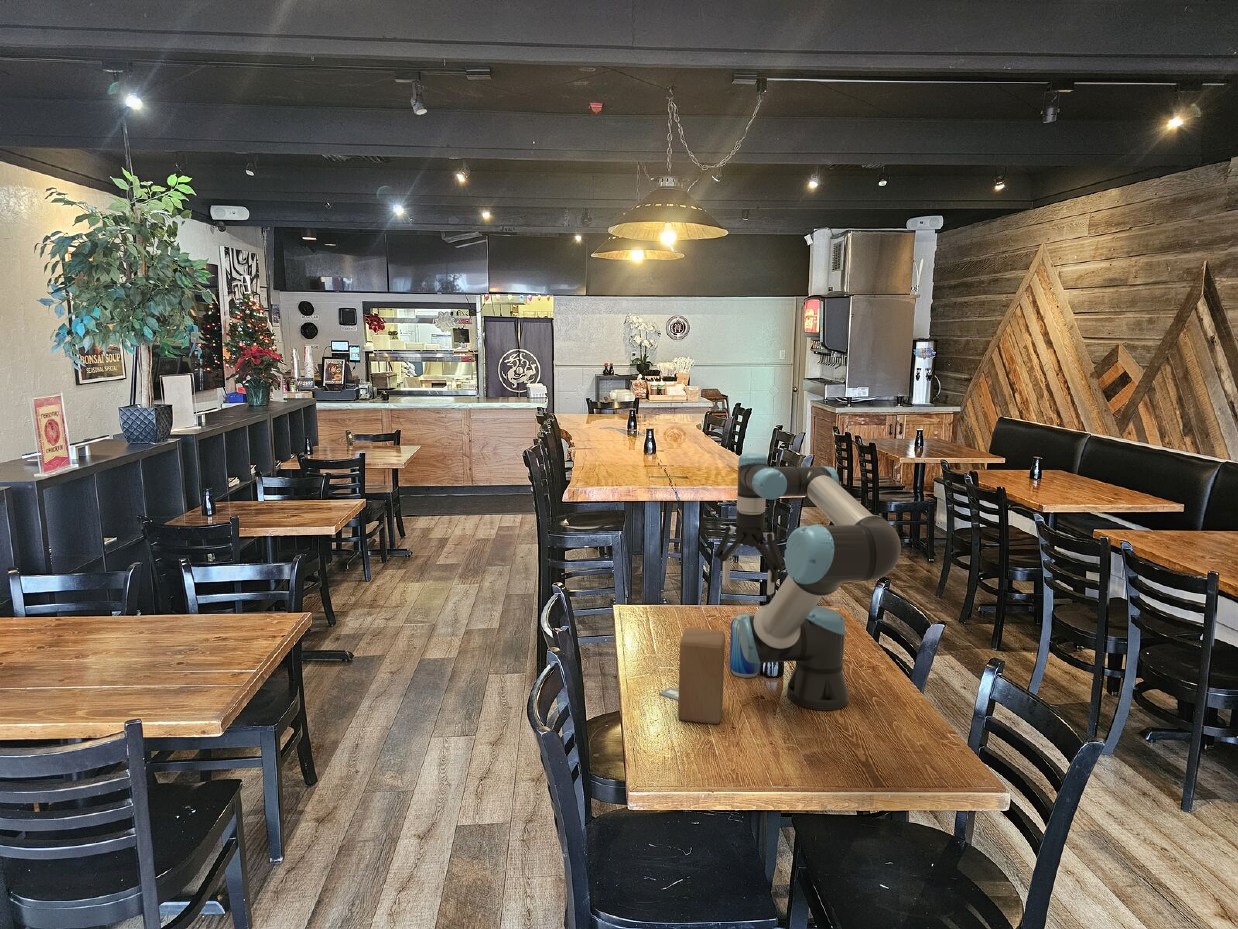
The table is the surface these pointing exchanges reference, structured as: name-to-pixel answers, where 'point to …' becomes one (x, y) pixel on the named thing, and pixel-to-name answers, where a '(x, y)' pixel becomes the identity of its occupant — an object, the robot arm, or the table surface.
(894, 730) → the table surface
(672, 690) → the card
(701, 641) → the block
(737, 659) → the beer can
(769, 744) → the table surface
